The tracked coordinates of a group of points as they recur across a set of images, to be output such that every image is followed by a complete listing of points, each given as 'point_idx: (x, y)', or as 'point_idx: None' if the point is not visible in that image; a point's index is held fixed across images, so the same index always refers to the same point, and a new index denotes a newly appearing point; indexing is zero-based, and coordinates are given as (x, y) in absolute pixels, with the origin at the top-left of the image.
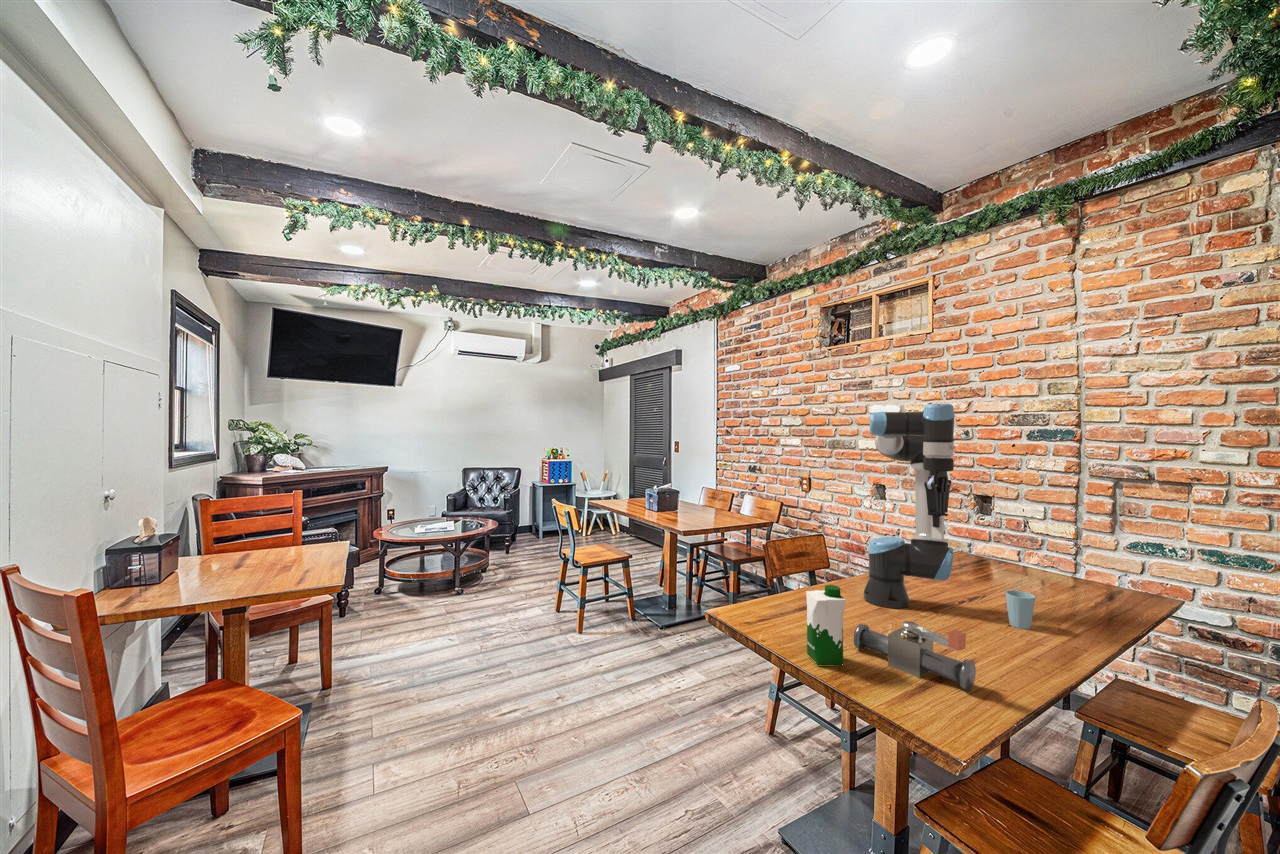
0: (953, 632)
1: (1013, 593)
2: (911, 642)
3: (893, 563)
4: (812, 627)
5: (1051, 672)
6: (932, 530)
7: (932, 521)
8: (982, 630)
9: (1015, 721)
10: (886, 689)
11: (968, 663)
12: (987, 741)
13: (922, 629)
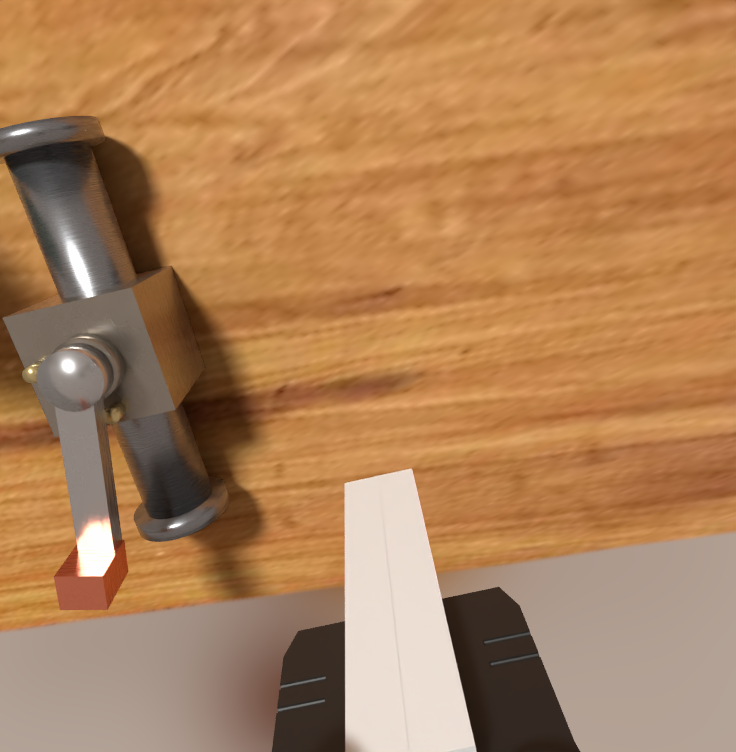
0: (71, 585)
1: None
2: (43, 407)
3: None
4: None
5: (538, 516)
6: (345, 554)
7: (276, 717)
8: (720, 236)
9: (164, 608)
10: None
11: (158, 541)
12: (19, 627)
13: (76, 438)
